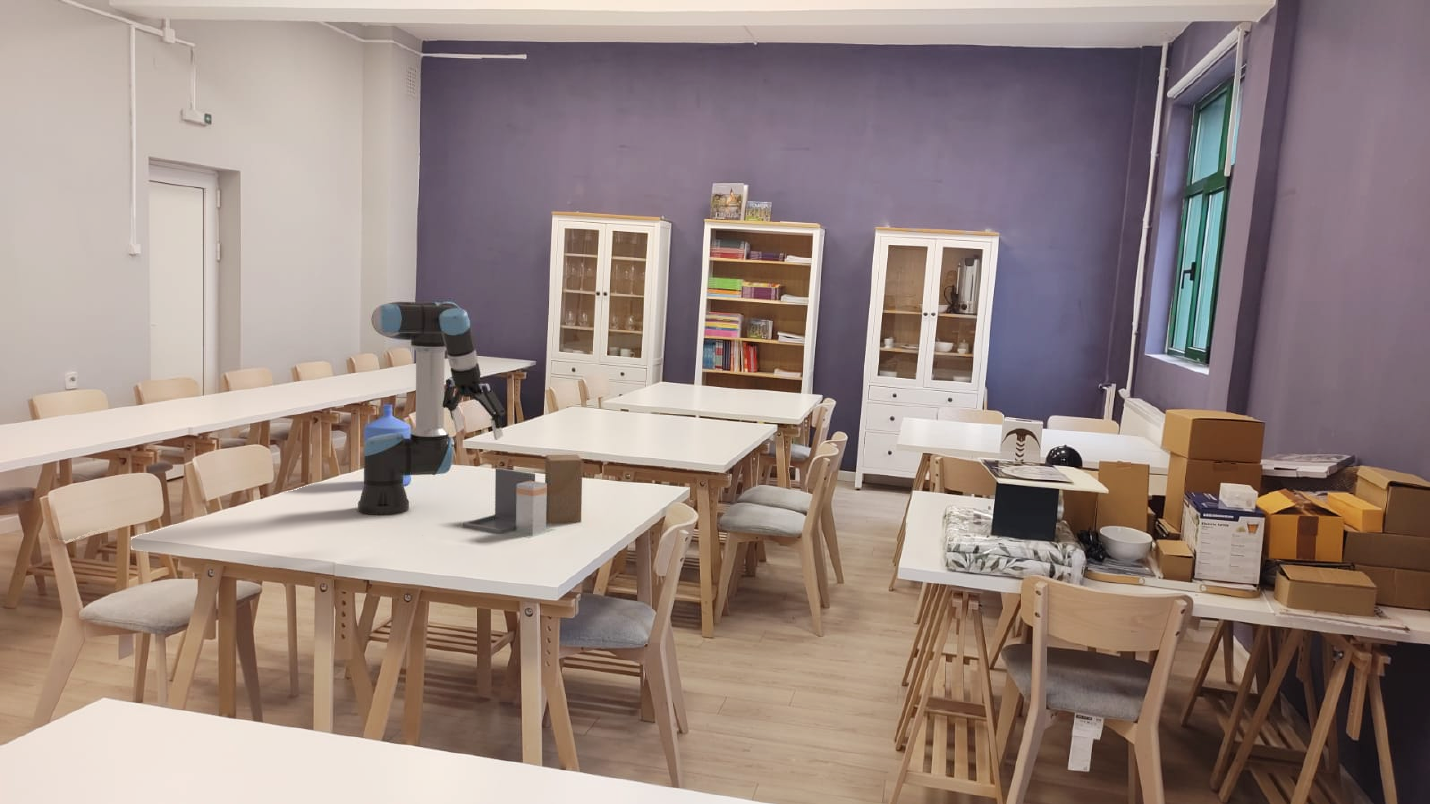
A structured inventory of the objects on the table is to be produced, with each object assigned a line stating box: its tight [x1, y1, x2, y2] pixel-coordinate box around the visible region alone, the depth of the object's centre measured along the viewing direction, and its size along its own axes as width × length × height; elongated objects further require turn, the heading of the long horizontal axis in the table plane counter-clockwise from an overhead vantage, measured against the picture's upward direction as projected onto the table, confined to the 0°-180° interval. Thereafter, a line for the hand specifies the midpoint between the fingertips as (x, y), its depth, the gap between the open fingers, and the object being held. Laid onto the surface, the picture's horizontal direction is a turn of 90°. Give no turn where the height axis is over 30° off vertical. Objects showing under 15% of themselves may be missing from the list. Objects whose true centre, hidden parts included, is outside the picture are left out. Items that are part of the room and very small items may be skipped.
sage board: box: [506, 527, 556, 539], centre depth 284 cm, size 8×12×1 cm, turn 152°
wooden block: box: [544, 454, 583, 524], centre depth 300 cm, size 10×10×20 cm
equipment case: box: [462, 467, 536, 535], centre depth 289 cm, size 14×15×16 cm
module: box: [515, 480, 547, 535], centre depth 283 cm, size 6×6×14 cm
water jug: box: [363, 403, 412, 487], centre depth 346 cm, size 16×16×28 cm
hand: (479, 433), depth 277 cm, fingers open, 13 cm apart
